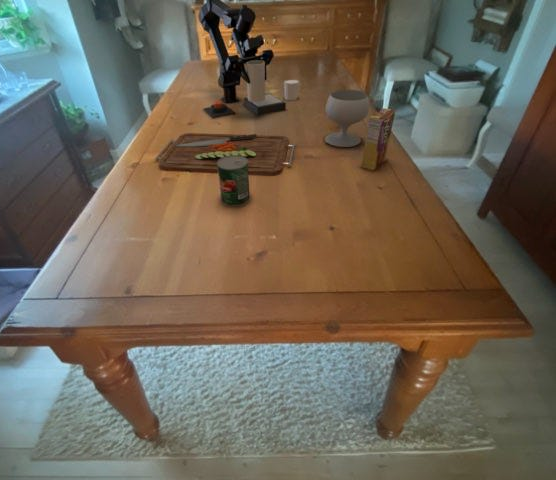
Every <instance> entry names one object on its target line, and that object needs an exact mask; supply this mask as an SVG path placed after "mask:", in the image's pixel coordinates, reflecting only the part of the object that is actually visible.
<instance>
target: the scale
mask: <svg viewBox="0 0 556 480" xmlns="http://www.w3.org/2000/svg"><path fill="white" fill-rule="evenodd" d="M242 101H243V106H244V107H245V108H246V109H248V110H249V111H251V112H252V113H253V114H255V115H256V116H257V117H258V116H259V117H260V116H262V115H267V114H273V113H279V112H284V111H286V109H287V102H285V101H284V100H283V99H280V98H279V97H277V96H275V95H273V94H272V93H270V92H269V93H265V100H264V101H262V102H250V101H248V96H247V97H243V98H242Z"/></svg>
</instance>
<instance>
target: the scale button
mask: <svg viewBox="0 0 556 480" xmlns="http://www.w3.org/2000/svg"><path fill="white" fill-rule="evenodd" d="M213 104H214V107H215V108H220V107H223V104H224V103H223V101H220V100H217V101H216V100H215V101H214V102H213Z"/></svg>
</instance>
